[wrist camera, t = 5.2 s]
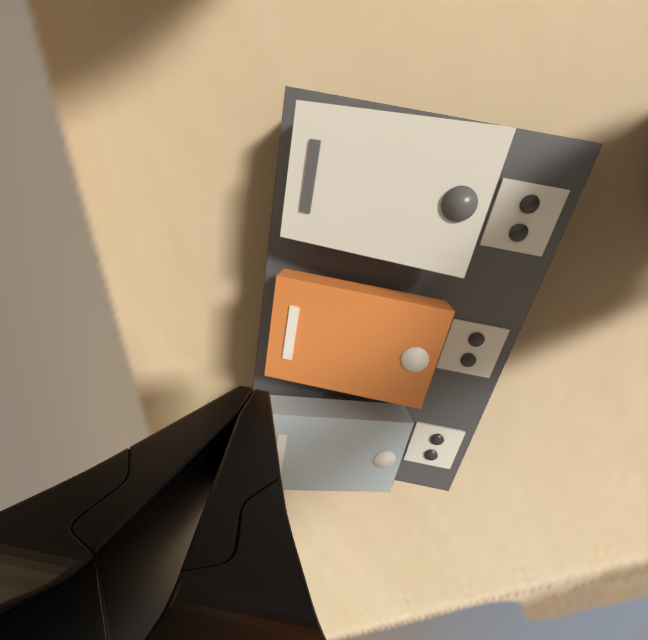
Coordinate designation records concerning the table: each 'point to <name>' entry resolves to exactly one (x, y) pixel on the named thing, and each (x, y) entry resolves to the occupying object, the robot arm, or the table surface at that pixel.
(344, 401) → the grey-blue rocker
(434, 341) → the orange box with knob
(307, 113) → the ivory rocker
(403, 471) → the power strip
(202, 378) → the table surface
